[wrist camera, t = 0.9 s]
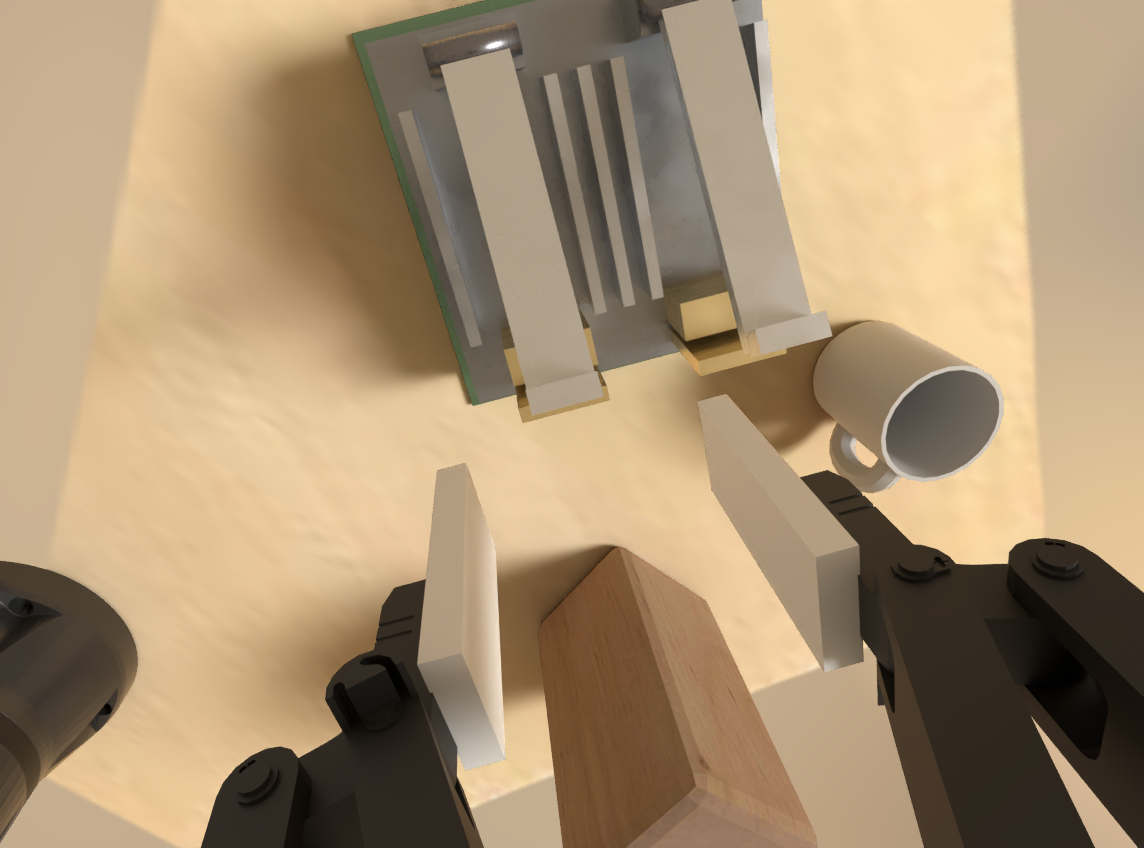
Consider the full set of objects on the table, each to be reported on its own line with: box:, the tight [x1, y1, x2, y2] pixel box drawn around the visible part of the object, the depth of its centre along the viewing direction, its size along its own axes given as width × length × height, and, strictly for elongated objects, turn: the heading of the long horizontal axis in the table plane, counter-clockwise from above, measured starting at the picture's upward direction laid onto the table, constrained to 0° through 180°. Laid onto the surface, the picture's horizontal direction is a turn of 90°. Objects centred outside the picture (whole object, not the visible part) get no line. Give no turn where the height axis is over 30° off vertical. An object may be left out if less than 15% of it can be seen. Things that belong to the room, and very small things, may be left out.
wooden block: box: [538, 547, 817, 848], centre depth 43 cm, size 10×10×20 cm
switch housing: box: [352, 0, 787, 423], centre depth 34 cm, size 20×21×10 cm
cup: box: [813, 321, 1004, 493], centre depth 42 cm, size 7×10×9 cm
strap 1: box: [422, 21, 604, 415], centre depth 26 cm, size 4×15×2 cm, turn 13°
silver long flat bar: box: [641, 0, 832, 358], centre depth 26 cm, size 4×15×2 cm, turn 13°
